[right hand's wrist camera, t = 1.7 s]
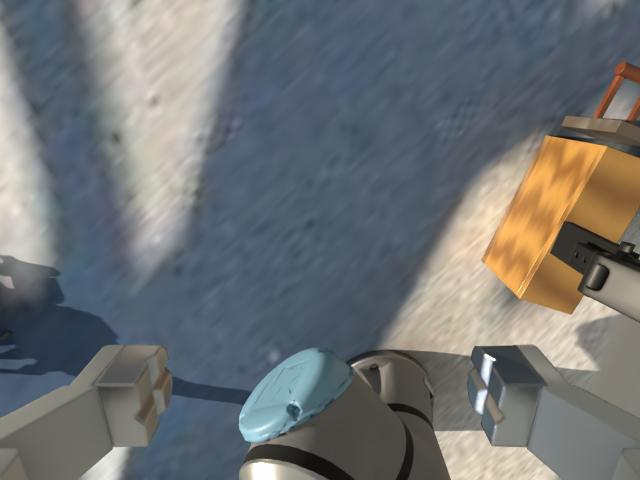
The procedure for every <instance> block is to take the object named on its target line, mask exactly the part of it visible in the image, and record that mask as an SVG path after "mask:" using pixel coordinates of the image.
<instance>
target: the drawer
mask: <svg viewBox="0 0 640 480" xmlns="http://www.w3.org/2000/svg"><path fill="white" fill-rule="evenodd" d="M614 74H615V75H617V76H615V78H614V80H613V82H612V84H611V85H610V87H609V89H608V91H607V93H606V94H605V96H604V98H603V100H602V102H601V104H600V105H599V107H598V109H597V111H596V113H595V115H594V116H593V118H589V117H577V116H566V118H565V119H564V121H563V123H562V125H561V126H563V127H566V128H568V129H571V130H574V131H576V132H579V133H582V134H584V135H587V136H590V137H593V138H595V139H598V140H602V141H608V142H614V143H621V144H627V145H633V146H640V127H638V126H636V125H634V123H635V121H636V120H637V118H638V116H639V114H640V97H639V99H638V101H637V103H636V104H635V106H634V108H633V109H632V111H631V113H630V115H629V116H628V118H627V120H626V122H625V121H623V120H613V119H602V117H603V115H604V114H605V112H606V110H607V108H608V106H609V105H610V103H611V101H612V99H613V97H614V96H615V94H616V92H617V90H618V89H619V87H620V85H621V83H622V81H623V80H624V78H625V79H628V80H630V81H633V82H635V83H638V84H640V68H639V67H636V66H634V65H631V64H629V63H626V62H621V63H620V64H619V65H618V66H617V67H616V69H615V71H614Z"/></svg>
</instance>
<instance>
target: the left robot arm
mask: <svg viewBox="0 0 640 480" xmlns="http://www.w3.org/2000/svg"><path fill="white" fill-rule="evenodd" d="M634 247H635V244H631V243H628V242H621V244H620V245H619V244H616V243H614V242H612V241H610V240H608V239H606V238H604V237H602V236H600V235H598V234H596V233H594V232H592V231H590V230H588V229H585V228H583V227H581V226H579V225H577V224H575V223H573V222H568V221H564V222H563V224H562V227H561V229H560V231H559V233H558V236H557V238H556V240H555V242H554V245H553V247H552V249H551V251H550V254H552V255H553V256H555V257H556V258H558V259H559V260H561V261H562V262H564V263H565V264H567V265H568V266H570V267H571V268H573V269H574V270H576V271H577V272H579V273H580V274H582V275H583V277H582V280H581V282H580V284H579V286H578V288H577V290H578V291H579V292H581V293H583V295H585V296H587V297H590V298H592V299H594V300H596V301H598V302H600V303H602V304H604V305H606V306H608V307H610V308H612V309H614V310H616V311H618V312H620V313H622V314H624V315H626V316H628V317H630V318H632V319H634V320H636V321H638V322H639V323H640V260H638V258H639V256H640V255H639V254H637V253H635V252H633V249H634ZM433 401H434V390H433V388H432V385H431V382H430V379H429V377H428V374H427V372H426V371H425V369H424V368H423V367H422V366H421V365H420V364H419V363H418V362H417V361H416V360H415V359H413V358H411V357H410V356H408V355H405V354H403V353H400V352H396V351H389V350H377V351H370V352H366V353H363V354H360V355H358V356H356V357H354V358H352V359H350V360H349V361H348V362H346V363H345V362H344V361H343V360H342V359H341V358H340V357H339V356H338V355H336V354H335V353H334V352H333V351H331V350H329V349H327V348H323V347H314V348H309V349H306V350H303V351H301V352H298V353H296V354H295V355H293V356H291V357H289V358H288V359H286V360H285V361H283V362H282V363H281V364H279V365H278V366H277V367H276V368H275V369H273V370H272V371H271V372H270V373H269V374H268V375H267V376H266V377H265V378H264V379H263V380H262V381H261V382H260V383H259V385H258V386H257V387H256V388H255V389H254V391H253V392H252V394H251V395H250V396H249V398H248V399H247V401H246V403H245V404H244V406H243V409H242V411H241V414H240V418H239V422H240V423H239V429H240V431H241V433H242V434H243V437H244V438H245V439H244V440H246V441H248V442H251V447H250V449H249V452H248V454H247V456H246V458H245V461H244V463H243V465H242V467H241V470H240V473H239V479H240V480H451V479H450V476H449V473H448V470H447V467H446V464H445V461H444V458H443V456H442V453H441V450H440V447H439V444H438V441H437V438H436V435H435V433H434V430H433V427H432V418H433Z"/></svg>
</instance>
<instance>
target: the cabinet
mask: <svg viewBox="0 0 640 480" xmlns="http://www.w3.org/2000/svg"><path fill="white" fill-rule="evenodd" d="M639 208H640V158H638V157H635V156H633V155H630V154H627V153H625V152H622V151H619V150H617V149H614V148H611V147H608V146H604V145H598V144H592V143H587V142H581V141H575V140H570V139H564V138H558V137H553V136H548V135H546V136H545V138H544V140H543V142H542V144H541V146H540V148H539V150H538V152H537V153H536V155H535V157H534V159H533V161H532V163H531V165H530V167H529V169H528V171H527V173H526V175H525V177H524V179H523V181H522V182H521V184H520V186H519V188H518V190H517V192H516V194H515V196H514V198H513V200H512V202H511V204H510V206H509V208H508V210H507V212H506V213H505V215H504V217H503V219H502V221H501V223H500V225H499V227H498V229H497V231H496V233H495V235H494V237H493V239H492V241H491V243H490V244H489V246H488V248H487V250H486V252H485V254H484V256H483V258H482V261H483V262H484V263H485V264H486V265H487V266H488V267H489V268H490V269H491V270H492V271H493V272H494V273H495V274H496V275H497V276H498V277H499V278H500V279H501V280H502V281H503V282H504V283H505V284H506V285H507V286H508V287H509V288H510V289H511V290H512V291H513V292H514V293H515V294H516V295H517V296H518V297H519V298H520V299H523V300H526V301H529V302H532V303H535V304H539V305H542V306H545V307H548V308H551V309H555V310H558V311H561V312H564V313H567V314H572V313H573V312H574V310H575V308H576V307H577V305H578V304H579V302H580V301H581V299H582V297H583V296H584V295H583V293H581V292H579V291H578V290H577V288H578V286H579V284H580V282H581V280H582V277H583V275H582V274H580V273H579V272H577V271H576V270H574V269H573V268H571V267H570V266H568V265H567V264H565V263H564V262H562V261H561V260H559V259H558V258H556V257H555V256H553V255H552V254H550V251H551V249H552V247H553V245H554V242H555V240H556V238H557V236H558V233H559V231H560V229H561V227H562V224H563V222H564V221H568V222H573V223H575V224H577V225H579V226H581V227H583V228H585V229H588V230H590V231H592V232H594V233H596V234H598V235H600V236H602V237H604V238H606V239H608V240H610V241H612V242H614V243H616V244H617V242H618V241H619V239H620V238H621V236H622V235H623V233H624V231H625V230H626V228H627V227H628V225H629V224H630V222H631V220H632V219H633V217H634V216H635V214H636V213H637V211H638V209H639Z"/></svg>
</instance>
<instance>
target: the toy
mask: <svg viewBox="0 0 640 480" xmlns="http://www.w3.org/2000/svg"><path fill="white" fill-rule="evenodd" d="M10 335H12V334H11V333H10V332H7V333H6V334H4V335H3V336H1V337H0V343H1V342H2V341H4V340H5V339H6V338H8V337H9V336H10Z"/></svg>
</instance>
